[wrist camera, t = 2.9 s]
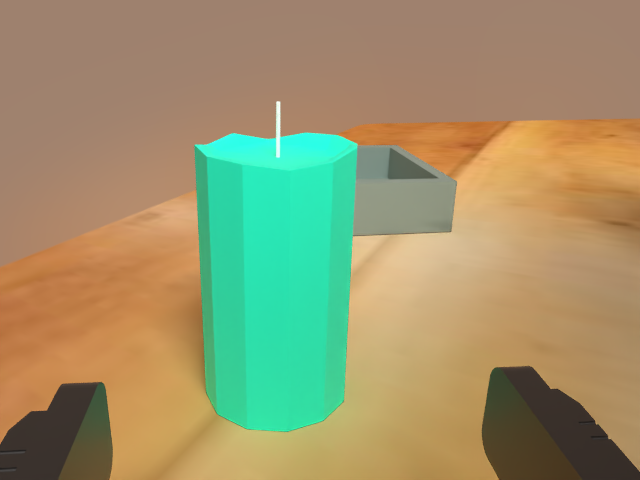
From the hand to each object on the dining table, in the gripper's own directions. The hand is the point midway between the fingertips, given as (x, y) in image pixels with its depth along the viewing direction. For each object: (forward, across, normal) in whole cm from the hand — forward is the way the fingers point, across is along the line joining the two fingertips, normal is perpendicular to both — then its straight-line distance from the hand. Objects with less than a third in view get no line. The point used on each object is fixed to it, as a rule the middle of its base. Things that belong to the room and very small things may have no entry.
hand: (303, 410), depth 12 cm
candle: (+11, 0, +7) cm, 13 cm away
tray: (+37, -7, +7) cm, 38 cm away
